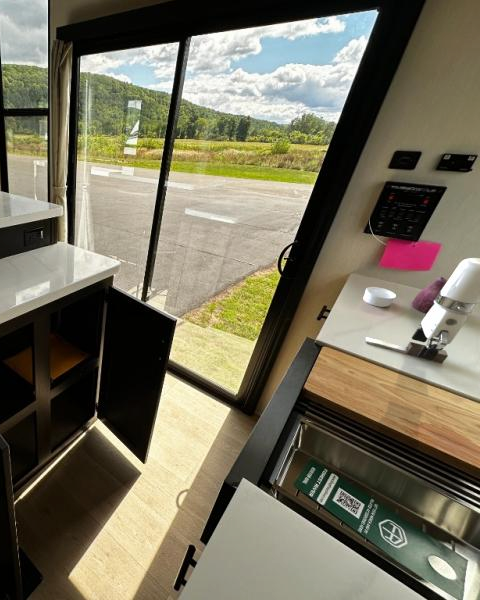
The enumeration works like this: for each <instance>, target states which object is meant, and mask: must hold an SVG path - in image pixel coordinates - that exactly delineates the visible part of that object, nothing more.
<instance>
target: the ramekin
mask: <svg viewBox="0 0 480 600" xmlns="http://www.w3.org/2000/svg"><path fill="white" fill-rule="evenodd" d="M396 298H397V294H396V293H395V292H393V291H391V290H389V289H387V288H383V287H377V286H369V287H366V288H365V292H364V295H363V301H364V302H365V303H367V304H369V305H370V306H373V307H379V308H385V307H386V308H387V307H389V306H390V305H391V304H392V302H393V301H394V300H395V299H396Z"/></svg>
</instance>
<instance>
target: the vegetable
mask: <svg viewBox="0 0 480 600" xmlns="http://www.w3.org/2000/svg"><path fill="white" fill-rule="evenodd" d="M447 281H448V280H447V279H446V278H444V277H443V276H442V275H441V276H440V277H438V278H437V279H436V280H434V281H433V282H431V284H429V285H428V286H426V287H424V288H423V289H421V290H420V291H419V292H418V293H417V294H416V296H415V297H414V298H413V300H412V301H411V305H412V306H411V307H412V308H414V309H415V310H417V311H420V312H422V313H425V314H427V313H428V312H429V310H430V309H431V308H432V307H433V305H434V304H435V303H434V300H435V299H436V297H437V296H438V294H439V293H440V291H441V290H442V288H443V287H444V286H445V284H446V283H447Z"/></svg>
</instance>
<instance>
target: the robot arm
mask: <svg viewBox="0 0 480 600" xmlns="http://www.w3.org/2000/svg"><path fill="white" fill-rule="evenodd" d="M434 303H435V304H434V305H433V307H432V308H431V309H430V310H429V312H428V313H425V314H426V315H425V316H424V317H423V318H422V320H421V323H420V324H419V326H418V328H417V329H416V331H415V332H414V333H413V334H412V336H411V340H413V341H416V342H420V343H426V342H427V343H426V345H425V346H424V347H423V348H422V350H421V351H420V352H419V354H418V355H417V356H418V357H417V358H419V359H423V360H426V361H431V362H433V361H432V360H433V359H434V358H435V356H436V355H437V354H438V352H440V351H441V350H444V348H445V347H447V345H450V344H451V343H452V342H453V341H454V339H455V338H456V336H457V335H458V334H459V332H460V330H461V329H462V328H463V326H464V324H465V322H466V320H467V318H468V315H471V314H472V313H473V312H474V311H475V309H476V308H477V306H478V305H479V304H480V258H479V257H468V258H465V259H463V260H461V261H460V262H459V264H458V265H457V267H456V268H455V270H454V271H453V272H452V274H451V275H450V277H449V278H448V280H447V283H446V284H445V286H444V287H443V288H442V290H441V291H440V293H439V294H438V296H437V297H436V299H435V300H434ZM433 342H435V343H433Z"/></svg>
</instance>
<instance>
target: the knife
mask: <svg viewBox="0 0 480 600" xmlns="http://www.w3.org/2000/svg"><path fill="white" fill-rule="evenodd" d="M364 340H365V341H364V342H365V343H366V344H369V345H373V346H375V347H380V348H383V349H384V348H385V349H387V350H391V351H395V352H400V353H403V354H406V355H409V356H413V357H417V358H419V357H418V356H417V355H418V354H419V352H420V351H421V350H422V348H423V347H424V346H426V345H425V344H421V343H417V342H413V341H409V342H408V344H407V345H406V346H403V345H398V344H395V343H392V342H388V341H384V340H381V339H380V340H379V339H376V338H371V337H368V336H365V339H364ZM448 357H449V355H448V352H447V350H444V349H442V350H441V351H440V352H438V354H437V355H436V356H435V358H434V359H433V360H432V361H431V362H436V363H439V364H443V363H444V362H445V360H446V359H447V358H448Z"/></svg>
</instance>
